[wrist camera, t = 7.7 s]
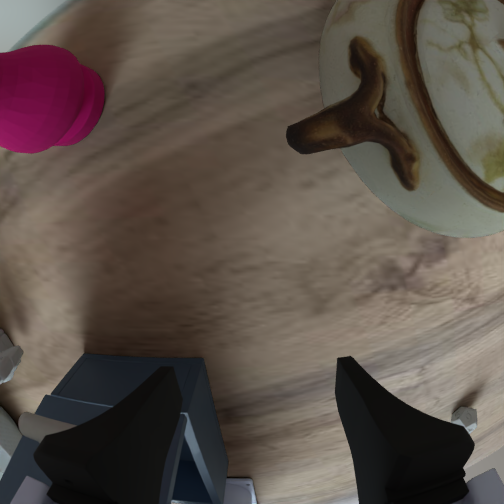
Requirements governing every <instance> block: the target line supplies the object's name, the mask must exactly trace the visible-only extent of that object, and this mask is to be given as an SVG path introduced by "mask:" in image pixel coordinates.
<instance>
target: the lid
mask: <svg viewBox="0 0 504 504" xmlns="http://www.w3.org/2000/svg"><path fill="white" fill-rule="evenodd" d="M110 408H112V407H108V406H102V405H96V404H90V403H84V402H79V401H73V400H68V399H64V398H59V397H55V396H50V395H45V396H44V398H43V400H42V402H41V403H40V405H39V407H38V408H37V410H36V412H35V414H33V413H30V412H24V413H23V414H21V416H20V418H19V423H18V424H19V429H20V432H21V433H22V434H23V436H22V438H21V440H20V441H19V443H18V445H17V447H16V449H15V451H14V453H13V455H12V457H11V459H10V461H9V463H8V465H7V468H6V470H5V472H4V474H3V476H2V478H1V480H0V504H10V503H11V501H12V499H13V498H14V496H15V494H16V493H17V491H18V489H19V488H20V486H21V484H22V483H23V481H24V479H25V478H26V476H29V477H31V478H34V479H36V480H38V481H40V482H43V483H44V484H46V485H48V486H49V487H51V485H52V483H53V482H52V481H51V480H50V479H49V478H48V477H47V476H46V475H45V473H44V472H43V471H42V470H41V469H40V468H39V466H38V465H37V464H36V462H35V460H34V457H33V453H34V452H35V450H36V449H37V447H38V446H39V444H40V443H41V441H42V440H43V438H44V437H45V435H49V434H53V433H57V432H61V431H64V430H67V429H70V428H73V427H75V426H78V425H80V424H83V423H85V422H87V421H89V420H91V419H93V418H95V417H97V416H99V415H100V414H102V413H104V412H105V411H107V410H109V409H110ZM186 424H187V418H186V415H185V414H180V418H179V421H178V424H177V427H176V430H175V433H174V436H173V439H172V442H171V445H170V448H169V451H168V454H167V458H166V461H165V467H164V472H163V477H162V484H161V490H160V498H159V504H171V501H172V496H173V490H174V485H175V480H176V474H177V469H178V464H179V459H180V454H181V449H182V444H183V439H184V434H185V429H186Z"/></svg>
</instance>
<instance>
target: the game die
mask: <svg viewBox="0 0 504 504" xmlns="http://www.w3.org/2000/svg"><path fill="white" fill-rule="evenodd" d="M451 423H454V424H458V425H462V426H464V427H465V429H466V430H467V431H468V433H469V434H470V433H471V432H472V431H473V430H474V429H476V428H477V411H476V409H473V408H469V407H460V408H459V409H458V410H456V411H455V412H454V413H453V414H452V418H451Z"/></svg>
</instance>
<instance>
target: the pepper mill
mask: <svg viewBox="0 0 504 504" xmlns="http://www.w3.org/2000/svg"><path fill="white" fill-rule="evenodd" d="M104 94H105V93H104V86H103V83H102V80H101V78H100V76H99V75H98V74H97V73H96V72H95V71H94V70H92V69H90V68H88V67H86V66H84V65H81V64H80V63H79V62H78V60H77V58H76V57H75V56H74V55H73V54H72V53H71V52H69V51H68V50H66V49H63V48H60V47H57V46H53V45H33V46H28V47H24V48H21V49H17V50H14V51H11V52H6V53H0V146H1V147H3V148H6V149H8V150H11V151H14V152H20V153H37V152H41V151H44V150H46V149H48V148H50V147H51V146H68V145H72V144H75V143H77V142H79V141H81V140H82V139H83V138H85V137H86V136H87V135H88V134H89V133H90V132H91V131H92V129H93V128H94V126H95V125H96V124H97V122H98V120H99V118H100V115H101V113H102V110H103V105H104Z"/></svg>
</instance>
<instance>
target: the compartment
mask: <svg viewBox="0 0 504 504" xmlns="http://www.w3.org/2000/svg"><path fill="white" fill-rule="evenodd" d="M160 366H173V367H174V371H175V374H176V378H177V381H178V385H179V388H180V391H181V394H182V398H183V402H182V408H181V413H180V414H185V415H186V418H187V424H186V429H185V434H184V439H183V444H182V449H181V454H180V459H179V464H178V469H177V474H176V480H175V485H174V490H173V496H172V501H171V502H173V503H181V504H223V502H224V494H225V486H226V477H227V469H228V457H227V454H226V450H225V446H224V443H223V439H222V435H221V431H220V427H219V423H218V419H217V415H216V411H215V407H214V402H213V398H212V394H211V390H210V385H209V381H208V376H207V372H206V367H205V362H204V358H155V357H130V356H112V355H98V354H86V353H84V354H83V355H82V356H81V357H80V358H79V360H78V361H77V362H76V363H75V364H74V366H73V367H72V368H71V369H70V370H69V372H68V373H67V374H66V375H65V377H64V378H63V379H62V380H61V382H60V383H59V384H58V385H57V387H56V388H55V389H54V390H53V392H52V393H51V396H55V397H59V398H64V399H68V400H73V401H79V402H84V403H90V404H96V405H102V406H108V407H113V406H115V405H116V404H117V403H119V402H120V401H121V400H123V399H124V398H125V397H126V396H128V395H129V394H130V393H131V392H133V391H134V390H135V389H136V388H137V387H138V386H139V385H141V384H142V383H143V382H144V381H145V380H146V379H147V378H148V377H149V376H150V375H151V374H153V373H154V372H155V371H156V370H157V369H158V368H159V367H160Z"/></svg>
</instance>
